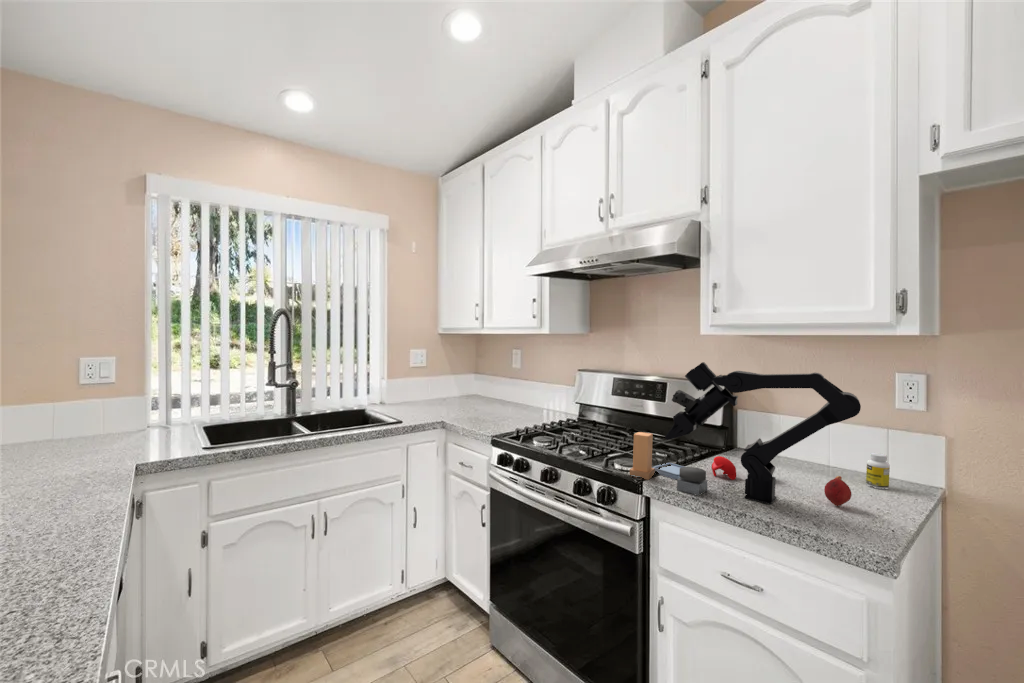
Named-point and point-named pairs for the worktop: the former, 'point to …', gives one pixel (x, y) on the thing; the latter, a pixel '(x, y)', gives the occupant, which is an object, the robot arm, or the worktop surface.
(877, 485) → the supplement bottle
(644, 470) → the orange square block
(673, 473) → the tray
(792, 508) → the worktop surface
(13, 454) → the worktop surface
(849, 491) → the onion
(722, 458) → the cap
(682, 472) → the wheel
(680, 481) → the axle mount
